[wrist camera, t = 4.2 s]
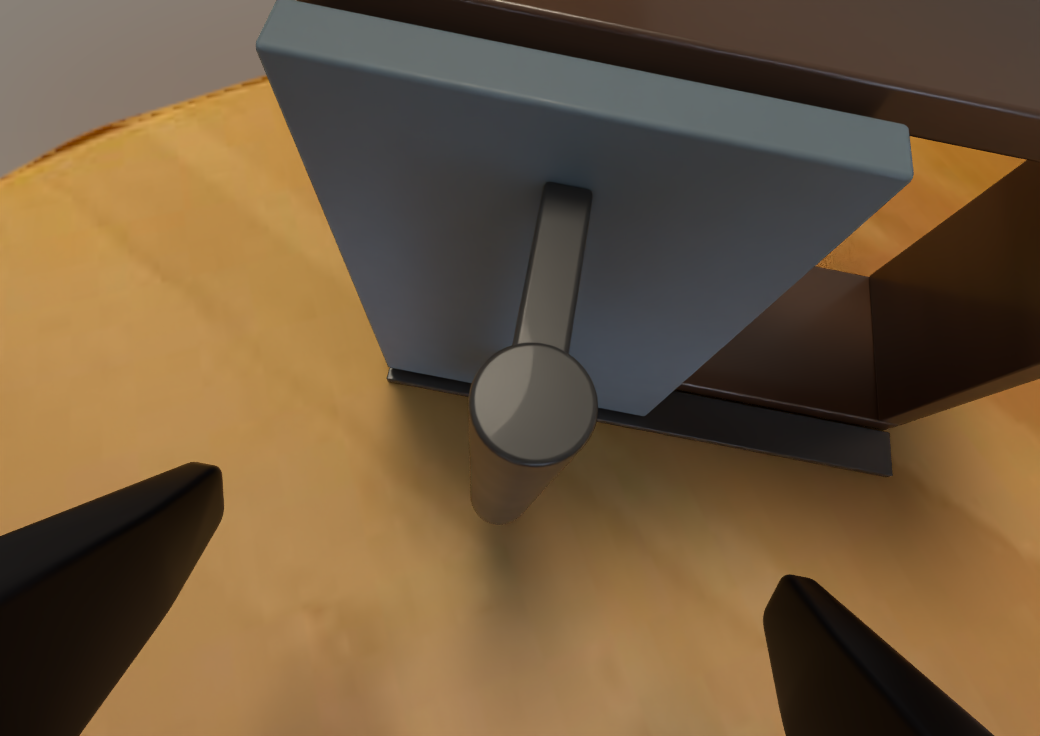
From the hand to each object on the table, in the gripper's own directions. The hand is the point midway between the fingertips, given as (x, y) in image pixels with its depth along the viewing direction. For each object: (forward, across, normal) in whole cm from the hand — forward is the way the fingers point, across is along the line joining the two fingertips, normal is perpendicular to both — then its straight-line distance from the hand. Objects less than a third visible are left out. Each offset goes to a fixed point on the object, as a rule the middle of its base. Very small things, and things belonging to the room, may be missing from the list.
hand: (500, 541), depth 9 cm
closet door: (+9, 0, +4) cm, 9 cm away
